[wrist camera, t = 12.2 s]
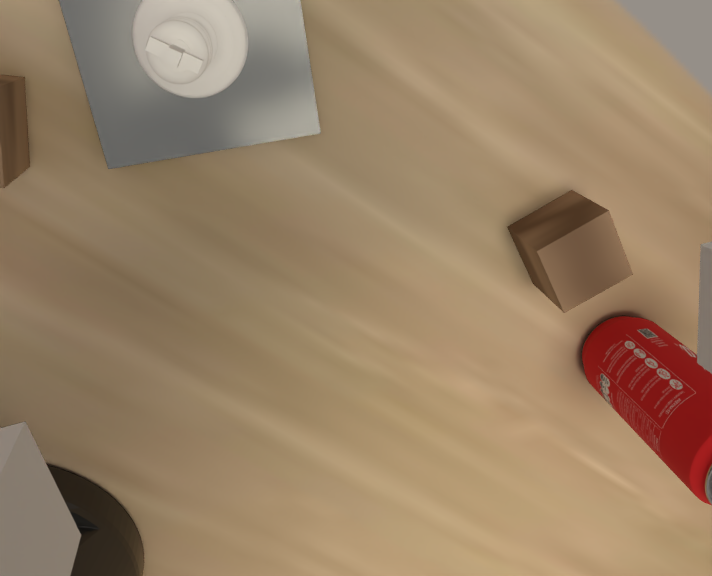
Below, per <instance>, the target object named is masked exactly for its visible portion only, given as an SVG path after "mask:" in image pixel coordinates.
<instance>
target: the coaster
mask: <svg viewBox="0 0 712 576" xmlns="http://www.w3.org/2000/svg"><path fill="white" fill-rule="evenodd" d="M141 1H142V0H59V2H60V6H61V9H62V12H63V16H64V19H65V23H66V26H67V30H68V33H69V36H70V40H71V43H72V47H73V50H74V53H75V57H76V60H77V64H78V67H79V70H80V74H81V77H82V81H83V84H84V87H85V91H86V94H87V98H88V101H89V104H90V108H91V111H92V115H93V118H94V122H95V125H96V128H97V132H98V135H99V139H100V142H101V145H102V149H103V152H104V156H105V159H106V162H107V166H108V169H112V168H118V167H124V166H130V165H136V164H142V163H148V162H154V161H160V160H166V159H172V158H178V157H184V156H190V155H195V154H201V153H207V152H213V151H219V150H225V149H231V148H237V147H243V146H249V145H255V144H261V143H267V142H273V141H279V140H285V139H291V138H296V137H302V136H308V135H314V134H320V133H321V131H320V125H319V118H318V112H317V105H316V99H315V92H314V86H313V79H312V73H311V66H310V60H309V53H308V47H307V40H306V34H305V27H304V21H303V14H302V8H301V1H300V0H232V1H233V2H234V3H235V5H236V6H237V8H238V9H239V11H240V13H241V15H242V17H243V19H244V22H245V25H246V29H247V34H248V52H247V57H246V61H245V64H244V66H243V69H242V71H241V72H240V74H239V76H238V77H237V78H236V79H235V81H234V82H233V83H232V84H231V85H230V86H228V87H227V88H226V89H224V90H223V91H221V92H219V93H217V94H215V95H212V96H209V97H203V98H187V97H182V96H178V95H175V94H173V93H170V92H168V91H166V90H165V89H163V88H162V87H160V86H159V85H157V84H156V83H155V82H154V81H153V80H152V79H151V78H150V77H149V76H148V75H147V73H146V72H145V71H144V69H143V68H142V66H141V64H140V63H139V60H138V58H137V56H136V53H135V49H134V45H133V38H132V28H133V21H134V16H135V13H136V11H137V8H138V6H139V4H140V3H141Z"/></svg>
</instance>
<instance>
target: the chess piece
mask: <svg viewBox="0 0 712 576" xmlns="http://www.w3.org/2000/svg"><path fill="white" fill-rule="evenodd" d="M132 38H133V45H134V49H135V53H136V56H137V58H138V60H139V63H140V64H141V66H142V68H143V69H144V71H145V72H146V73H147V75H148V76H149V77H150V78H151V79H152V80H153V81H154V82H155V83H156V84H157V85H159V86H160V87H162V88H163V89H165V90H166V91H168V92H170V93H173V94H175V95H178V96H182V97H187V98H203V97H209V96H212V95H215V94H217V93H219V92H221V91H223V90H224V89H226V88H227V87H228V86H230V85H231V84H232V83H233V82H234V81H235V79H236V78H237V77H238V76H239V74H240V72H241V71H242V69H243V66H244V64H245V61H246V57H247V52H248V34H247V29H246V25H245V22H244V19H243V17H242V15H241V13H240V11H239V9H238V8H237V6H236V5H235V3H234V2H233V1H232V0H142V1H141V3H140V4H139V6H138V8H137V11H136V13H135V16H134V21H133V28H132Z"/></svg>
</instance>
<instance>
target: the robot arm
mask: <svg viewBox="0 0 712 576" xmlns="http://www.w3.org/2000/svg"><path fill="white" fill-rule="evenodd" d="M697 363H698V364H699V365H701V366H702V367H703V368H705V369H706V370H707V371H709V372H710V373H711V374H712V242H708V243H704V244H701V252H700V284H699V316H698V349H697ZM143 568H144V553H143V546H142V542H141V539H140V536H139V533H138V531H137V529H136V527H135V525H134V523H133V521H132V520H131V518H130V517H129V515H128V514H127V513H126V511H125V510H124V509H123V508H122V507H121V506H120V504H119V503H118V502H117V501H115V500H114V499H113V498H112V497H111V496H110V495H109V494H107V493H106V492H105V491H103V490H102V489H100V488H99V487H97V486H96V485H94V484H92V483H91V482H89V481H87V480H85V479H83V478H81V477H79V476H77V475H74V474H72V473H70V472H67V471H64V470H61V469H58V468H55V467H51V466H47V464H46V462H45V460H44V458H43V456H42V454H41V452H40V450H39V448H38V446H37V444H36V442H35V440H34V438H33V436H32V434H31V432H30V430H29V428H28V426H27V424H26V422H22V423H18V424H14V425H10V426H7V427H3V428H0V576H142V575H143Z"/></svg>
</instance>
